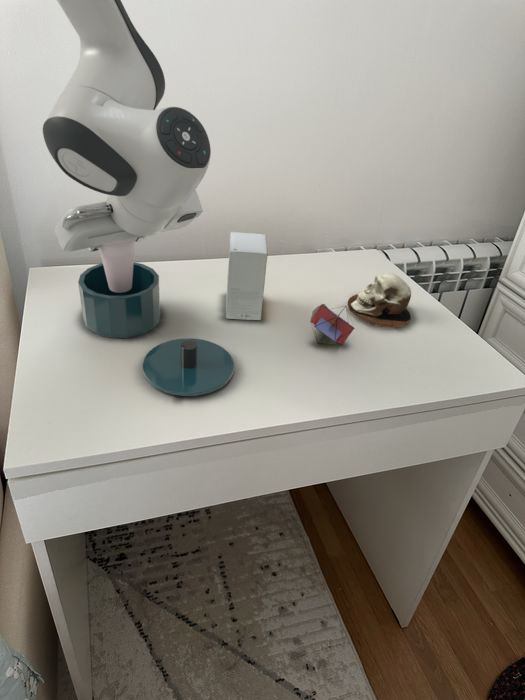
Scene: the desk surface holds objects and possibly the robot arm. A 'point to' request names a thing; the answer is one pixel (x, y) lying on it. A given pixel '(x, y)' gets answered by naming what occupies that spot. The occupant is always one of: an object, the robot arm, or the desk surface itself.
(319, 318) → the geometric puzzle
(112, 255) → the smoothie
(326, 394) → the desk surface
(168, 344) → the lid
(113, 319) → the pot
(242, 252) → the small box
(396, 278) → the skull
